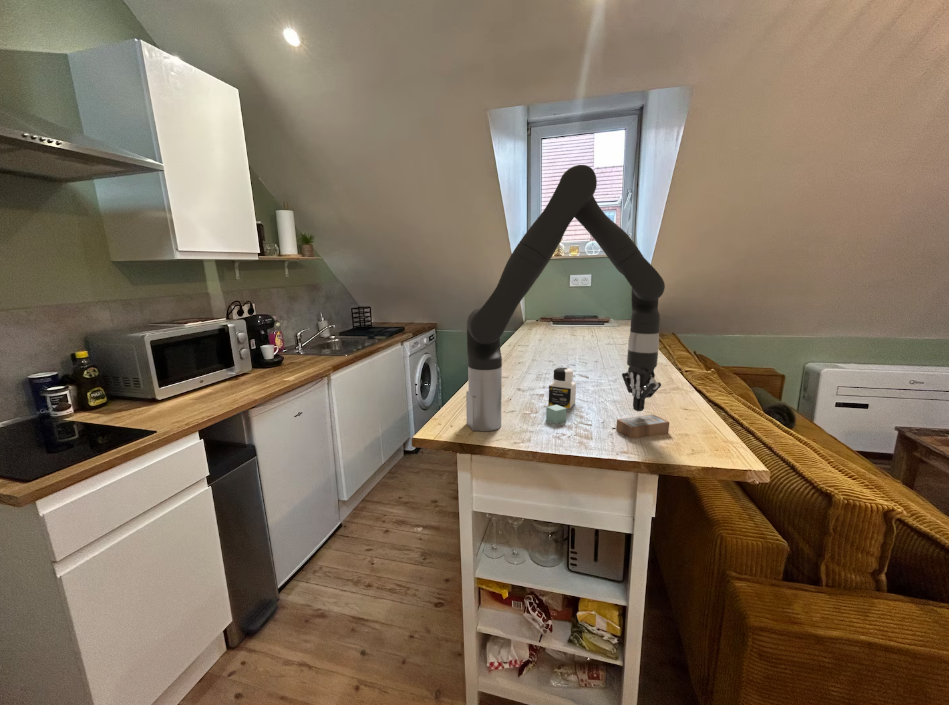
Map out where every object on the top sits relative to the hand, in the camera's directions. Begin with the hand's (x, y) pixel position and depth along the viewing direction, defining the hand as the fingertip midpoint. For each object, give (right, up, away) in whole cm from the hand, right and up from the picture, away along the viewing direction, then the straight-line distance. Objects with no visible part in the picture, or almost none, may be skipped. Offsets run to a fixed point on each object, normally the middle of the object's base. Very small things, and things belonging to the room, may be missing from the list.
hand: (638, 410), depth 111 cm
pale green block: (-21, -4, +6) cm, 23 cm away
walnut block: (-6, -5, -4) cm, 8 cm away
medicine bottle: (-17, -1, +20) cm, 26 cm away
